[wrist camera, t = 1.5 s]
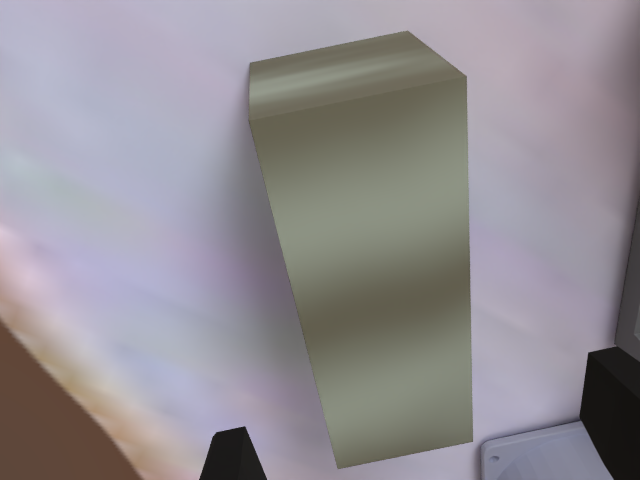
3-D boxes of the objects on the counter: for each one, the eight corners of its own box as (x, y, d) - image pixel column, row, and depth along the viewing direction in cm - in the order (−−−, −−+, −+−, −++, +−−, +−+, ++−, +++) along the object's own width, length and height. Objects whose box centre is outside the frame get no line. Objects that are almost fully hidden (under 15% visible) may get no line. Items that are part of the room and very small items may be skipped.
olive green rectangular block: (429, 336, 21) (472, 441, 17) (321, 358, 21) (337, 469, 17) (405, 28, 15) (466, 76, 11) (250, 61, 15) (248, 120, 11)
